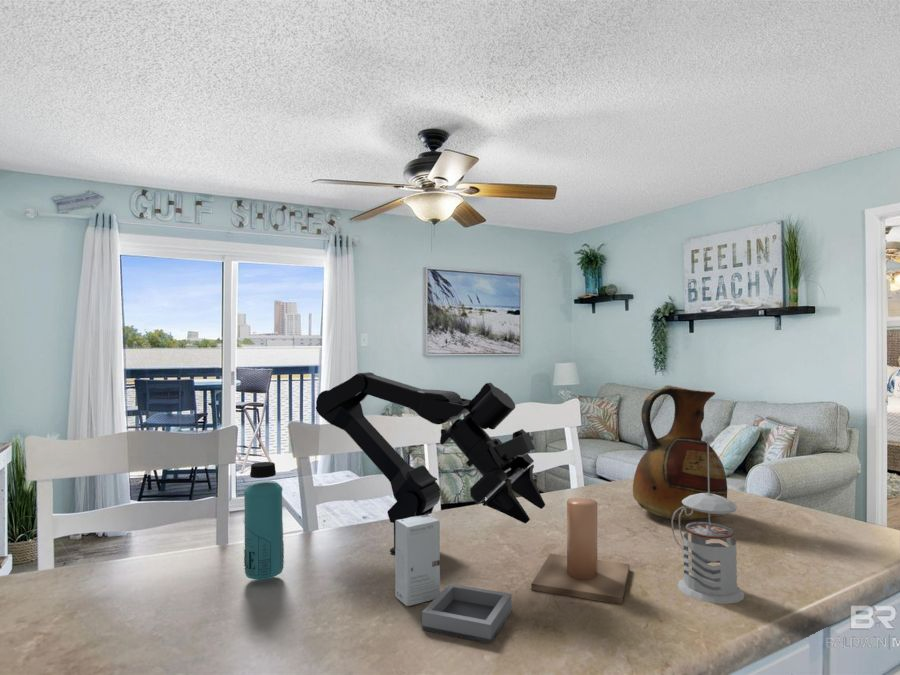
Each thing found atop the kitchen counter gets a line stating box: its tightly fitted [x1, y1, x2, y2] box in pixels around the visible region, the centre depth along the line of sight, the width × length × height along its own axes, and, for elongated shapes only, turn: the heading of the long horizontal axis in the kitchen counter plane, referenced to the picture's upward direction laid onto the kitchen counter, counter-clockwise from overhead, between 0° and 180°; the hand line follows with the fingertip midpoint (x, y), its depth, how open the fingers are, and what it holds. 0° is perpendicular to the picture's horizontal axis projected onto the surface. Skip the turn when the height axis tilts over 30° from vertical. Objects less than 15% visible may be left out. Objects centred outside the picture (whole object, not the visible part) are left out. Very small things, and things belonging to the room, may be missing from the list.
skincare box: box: [394, 514, 441, 607], centre depth 88 cm, size 6×4×12 cm
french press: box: [671, 433, 745, 605], centre depth 90 cm, size 10×12×25 cm
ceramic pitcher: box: [632, 384, 728, 521], centre depth 129 cm, size 20×20×30 cm
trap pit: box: [421, 583, 513, 645], centre depth 80 cm, size 10×10×2 cm
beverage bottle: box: [242, 461, 285, 580], centre depth 95 cm, size 6×7×20 cm
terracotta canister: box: [566, 497, 598, 579], centre depth 94 cm, size 5×5×12 cm
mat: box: [531, 553, 630, 605], centre depth 94 cm, size 14×14×1 cm
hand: (536, 514), depth 98 cm, fingers open, 9 cm apart
